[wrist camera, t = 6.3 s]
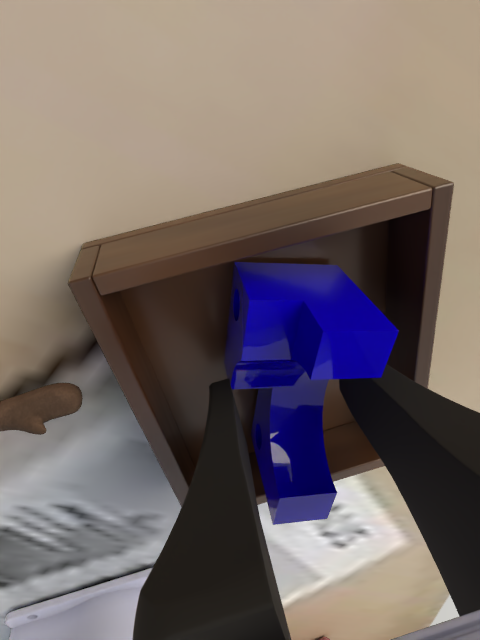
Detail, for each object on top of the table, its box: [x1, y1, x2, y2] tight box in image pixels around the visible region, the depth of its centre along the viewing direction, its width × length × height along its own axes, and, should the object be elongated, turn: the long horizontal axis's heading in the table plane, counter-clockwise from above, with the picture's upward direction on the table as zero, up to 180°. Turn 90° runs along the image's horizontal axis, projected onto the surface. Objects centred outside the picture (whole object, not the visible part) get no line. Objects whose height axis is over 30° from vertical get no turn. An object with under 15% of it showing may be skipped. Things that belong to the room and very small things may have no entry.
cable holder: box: [224, 262, 399, 525], centre depth 13 cm, size 8×4×4 cm, turn 173°
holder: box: [68, 163, 454, 507], centre depth 14 cm, size 10×12×3 cm
